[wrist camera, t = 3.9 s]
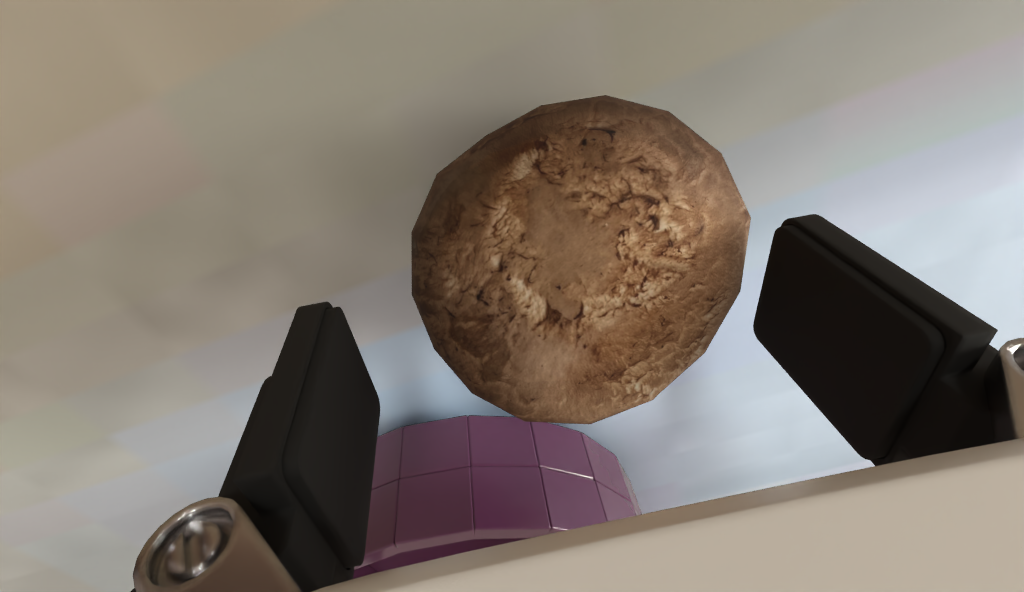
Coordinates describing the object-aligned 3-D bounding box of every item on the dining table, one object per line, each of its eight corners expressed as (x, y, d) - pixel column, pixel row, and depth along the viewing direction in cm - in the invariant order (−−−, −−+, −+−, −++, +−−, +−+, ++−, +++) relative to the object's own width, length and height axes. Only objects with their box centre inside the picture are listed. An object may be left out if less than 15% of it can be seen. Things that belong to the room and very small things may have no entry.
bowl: (235, 442, 18) (175, 584, 14) (630, 373, 18) (684, 490, 14) (359, 608, 27) (344, 723, 23) (622, 559, 27) (653, 663, 23)
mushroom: (677, 415, 15) (729, 514, 9) (439, 356, 16) (340, 407, 10) (738, 159, 14) (839, 73, 8) (484, 122, 16) (406, 24, 10)
